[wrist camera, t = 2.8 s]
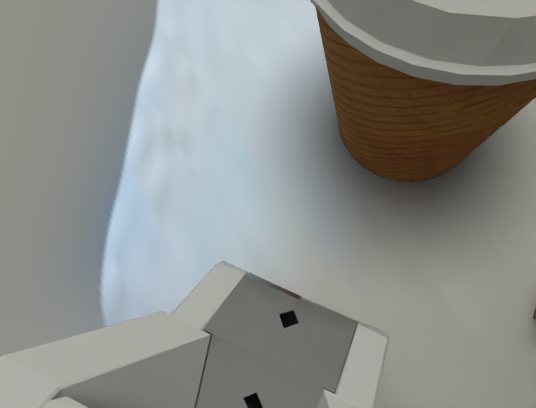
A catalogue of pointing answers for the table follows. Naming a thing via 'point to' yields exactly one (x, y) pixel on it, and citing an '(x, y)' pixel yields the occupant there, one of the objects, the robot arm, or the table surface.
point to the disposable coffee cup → (426, 77)
